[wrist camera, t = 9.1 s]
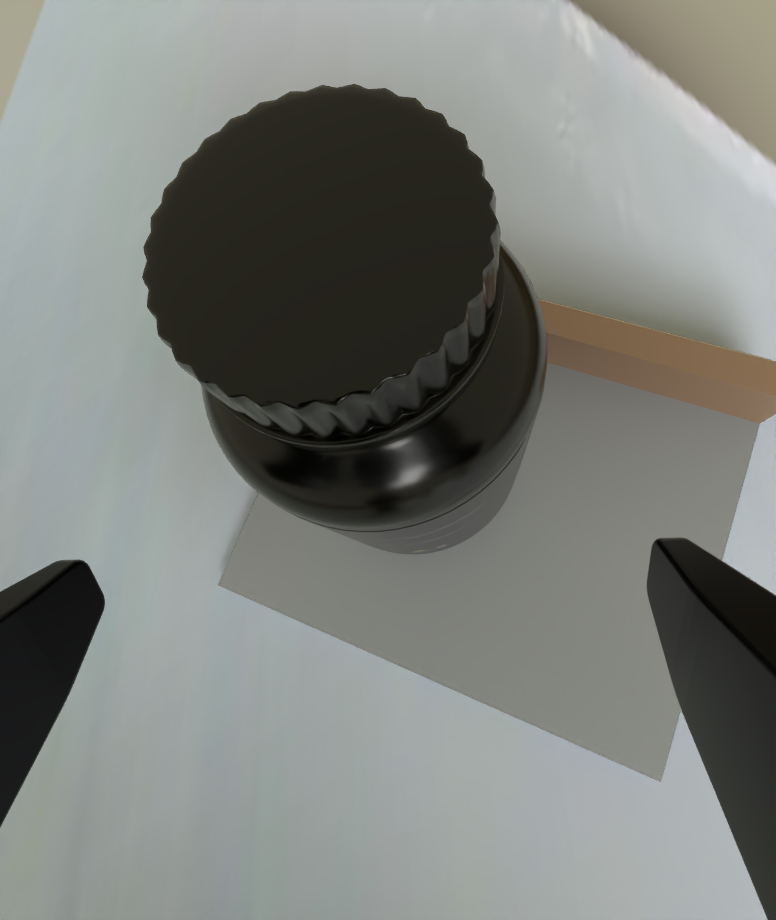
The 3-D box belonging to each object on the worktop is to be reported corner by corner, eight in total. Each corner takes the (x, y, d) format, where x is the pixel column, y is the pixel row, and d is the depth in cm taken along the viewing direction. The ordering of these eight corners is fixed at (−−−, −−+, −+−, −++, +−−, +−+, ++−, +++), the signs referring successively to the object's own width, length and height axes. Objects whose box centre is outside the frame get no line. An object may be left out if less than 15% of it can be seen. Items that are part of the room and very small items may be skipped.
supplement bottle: (309, 379, 20) (79, 75, 8) (500, 348, 19) (537, -40, 7) (324, 571, 18) (55, 523, 6) (534, 546, 17) (655, 439, 6)
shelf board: (654, 775, 16) (687, 808, 13) (225, 585, 19) (187, 583, 17) (759, 395, 18) (805, 362, 15) (357, 284, 21) (341, 242, 19)
